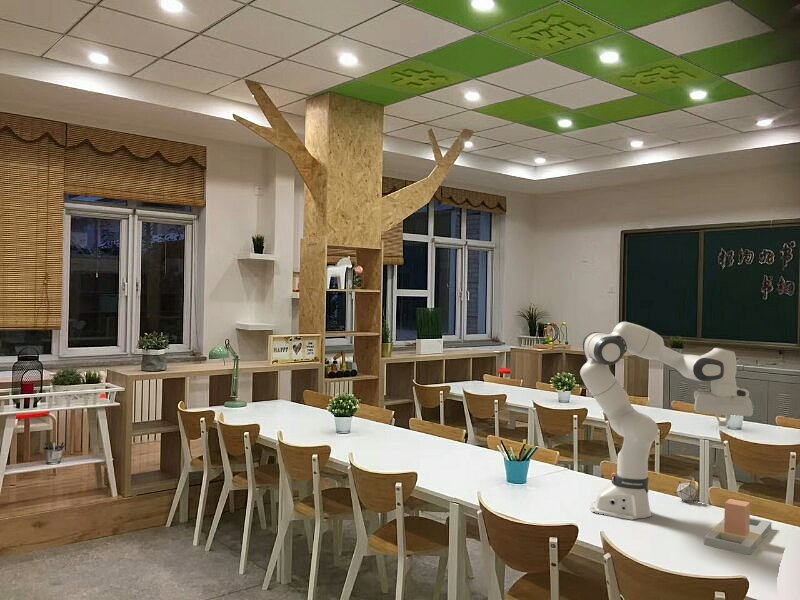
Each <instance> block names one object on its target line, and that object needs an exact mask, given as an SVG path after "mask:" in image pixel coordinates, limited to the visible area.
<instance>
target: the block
mask: <svg viewBox="0 0 800 600" xmlns="http://www.w3.org/2000/svg"><path fill="white" fill-rule="evenodd" d="M750 506H751V503H750V502H749V501H744V500H739V499H734V498H729V499H727V500H726V501H725V502H724V515H723V516H724V517H723V519H724V532H727V533H732V534H737V535H741V536H746V535H747V534H748V532H749V525H750V518H751V517H750V514H751V509H750V508H751V507H750Z"/></svg>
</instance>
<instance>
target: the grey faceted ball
mask: <svg viewBox="0 0 800 600" xmlns="http://www.w3.org/2000/svg"><path fill="white" fill-rule="evenodd" d="M678 483H679V485H678V487H677V489H676V490H675V491H673V493H675V494H677V495H678V497H679V498H680V500H681V502H682V501H683V502H684V501H685V502H688V501H689V502H690V501H692V502H693V503H694V502H695V498H696V495H697V494H698V493H699V492H700V490H699V489H698V490H697V489H696V487H695V486H694V485H693V484H692V480H691V481H689V482H681V481H680V480H679V481H678Z"/></svg>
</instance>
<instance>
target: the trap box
mask: <svg viewBox="0 0 800 600" xmlns="http://www.w3.org/2000/svg"><path fill="white" fill-rule="evenodd" d="M770 529H771V530H772V521H769V520H765V519H760V518H754V517H750V525H749V532H748V534H747V535H746V536H741V535H737V534H732V533H727V532H724V518H723V519H722V520H720V522H719V523H717V524H716V526H713V528H712V529H711V530H710V531H709V532H708V533H707V534H705V535H704V536H703V545H705V546H709V547H713V548H718V549H722V550H725V551H726V550H727V551H731V552H733V553H735V552H736V553H740V554H744V555H748V554H749V555H748V556H750V555H752V553H753V552H754V551H755V550H756V549H757V546H758V545H760V543H762V541H763V540H764V538H765V537H766V536H767V535H768V533H769V532H770V531H771V530H770ZM769 530H770V531H769ZM766 534H767V535H766ZM765 535H766V536H765ZM762 539H763V540H762ZM761 540H762V541H761ZM753 550H754V551H753ZM752 551H753V552H752Z"/></svg>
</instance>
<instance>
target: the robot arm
mask: <svg viewBox="0 0 800 600" xmlns="http://www.w3.org/2000/svg"><path fill="white" fill-rule="evenodd" d="M582 350H583V358H584V360H585V361H586V362H585V363H584V364H583V365H582V367H581V369H580V370H579V373H580V374H579V375H580V377H581V380H582V381H583V384H584V385H585V387H586V389H587V390H588V392H589V393H590V394H591V396H592V398H594V399H595V401H596V402H597V404H598V406H600V408H601V409H602V411H603V412H604V414H605V416H606V418H607V420H608V422H609V426H610V428H611V429H612V430H613V432H614V433H616V434H617V435H618V436H620V437H623V441H622V442H623V443H622V447H621V449H620V451H619V452H618V454H617V463H616V464H617V465H616V467H617V471H616V472H617V473H616V472H612V473H611V476H610V477H611V483H609V484H608V485H606V486H605V487H603V488H602V489H600V490H599V491H598V493H597V495H596V498H595V501H593V502H591V503H590V505H589V510H590V511H591V512H592V513H593V512H595V513H594V514H598V513H599V515H603V514H604V516H610V517H615V518H620V519H625V520H636V519H645V518H649V517H651V516H652V511H651V507H650V501H649V494H648V493H649V490H650V488H649V487H650V479H649V476H648V472H649V467H648V466H649V464H648V463H649V455H650V450H651V448H652V445H653V442H654V441H655V440H656V439H657V438H658V435H659V432H660V431H659V430H660V429H659V426H658V424H657V423H656V421H655V420H653V419H652V418H651V417H650V416H649V415H647V414H643V413H641V412H639V411H637V410H636V409H635V408H634V407H633V406H632V403H631V401H630V400H629V395H628V392H627V391H626V390H625V388H624V386H622V384H621V383H620V382H619V380H617V378H616V377H615V375H614V374H613V373H612V371H611V369H610V367H609V366H612V365H615V364H617V363H618V362H620V360H621V359H622V358H623V356H624V354H625V353H626V352H627V353H630V354H632V355H635V356H636V357H640V358H642V359H646V360H650V361H653V360H654V361H658V362H660V363H662V364H664V365H666V366H669V367H671V368H672V369H674V370H675V372H676V373H677V374H678V375H679V376H680V377H681V378H684V379H685V380H693V381H698V382H702V383H703V382H704V383H705V382H710V388H697V389H696V390H694V391H693V399H694V412H695V413H699V414H711V415H712V414H713V415H715V418H716V421H718V423H717V424H718V425H717V426H718V427H725V428H726V427H728V422H729V421H730V419H731V416H736V417H737V416H738V417H752V416H753V414H754V410H753V409H754V408H753V403H752V400H751V398H750V391H749V390H747V389H745V388H742V387H740V386H737V380H736V375H737V356H736V353H735V351H734V350H732V349H728V348H724V347H718V346H717V347H714V348H713V349H712V350H710V351H708V352H707V353H704V354H700V355H697V354H694V353H681V352H678V351H676V350H673V349H672V348H669V347H667V346H665V341H664V339H663V337H662V336H661V335H660V334H658V333H657V332H655V331H653V330H651V329H649V328H646V327H644V326H642V325H639V324H635V323H633V322H628V321H621V322H618V323H617V324H616V325H615V326H614V328H613V330H612V332H611V333H609V334H607V333H603V332H600V331H595V332H591V333H589V334H587V335H586V336H585V337H584V339H583V341H582ZM721 415H725V417H726V419H725V420H721V419H720V417H721Z"/></svg>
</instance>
